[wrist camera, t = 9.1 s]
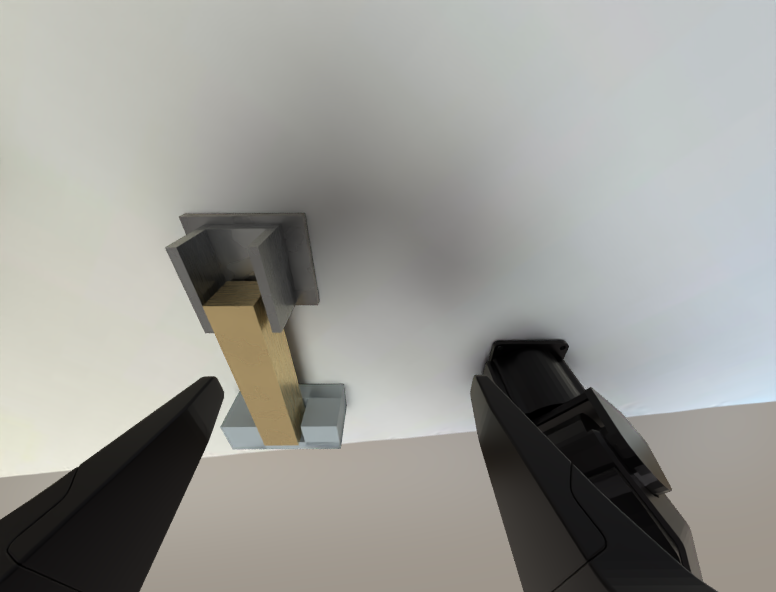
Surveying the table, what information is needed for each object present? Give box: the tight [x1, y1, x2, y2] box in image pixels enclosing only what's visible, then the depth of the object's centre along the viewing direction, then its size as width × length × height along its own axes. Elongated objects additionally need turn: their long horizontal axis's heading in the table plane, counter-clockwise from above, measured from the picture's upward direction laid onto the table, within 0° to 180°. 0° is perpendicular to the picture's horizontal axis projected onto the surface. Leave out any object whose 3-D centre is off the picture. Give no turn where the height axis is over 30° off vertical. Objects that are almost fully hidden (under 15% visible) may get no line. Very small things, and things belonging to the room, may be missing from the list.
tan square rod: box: [202, 281, 305, 446], centre depth 22 cm, size 3×15×3 cm, turn 1°
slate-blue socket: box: [220, 384, 346, 449], centre depth 27 cm, size 10×4×4 cm, turn 90°
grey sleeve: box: [165, 213, 319, 333], centre depth 19 cm, size 8×7×4 cm
